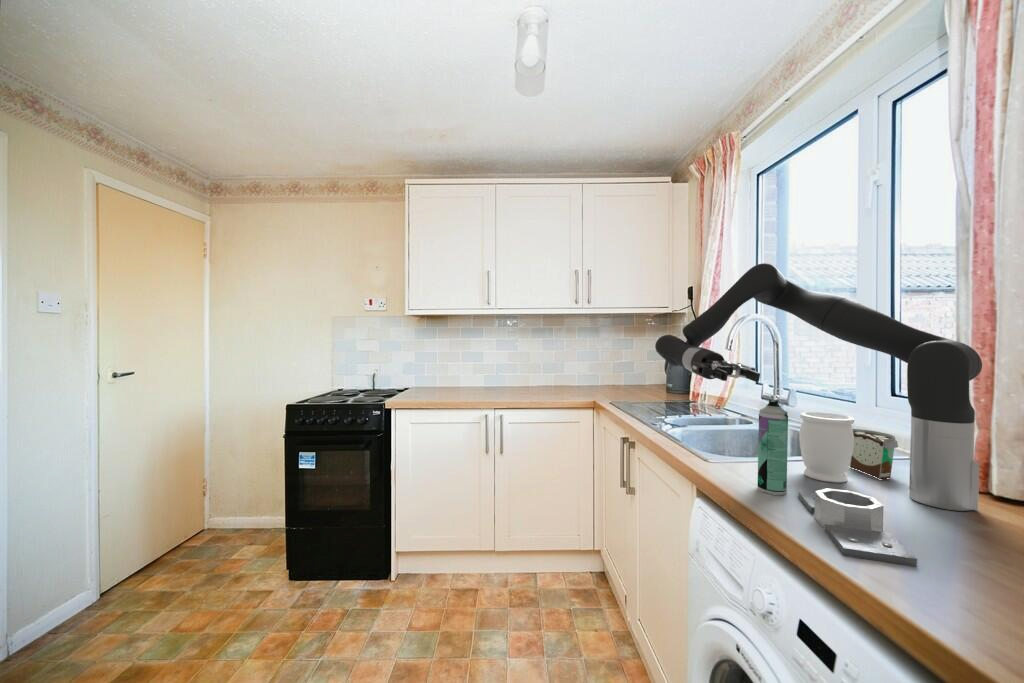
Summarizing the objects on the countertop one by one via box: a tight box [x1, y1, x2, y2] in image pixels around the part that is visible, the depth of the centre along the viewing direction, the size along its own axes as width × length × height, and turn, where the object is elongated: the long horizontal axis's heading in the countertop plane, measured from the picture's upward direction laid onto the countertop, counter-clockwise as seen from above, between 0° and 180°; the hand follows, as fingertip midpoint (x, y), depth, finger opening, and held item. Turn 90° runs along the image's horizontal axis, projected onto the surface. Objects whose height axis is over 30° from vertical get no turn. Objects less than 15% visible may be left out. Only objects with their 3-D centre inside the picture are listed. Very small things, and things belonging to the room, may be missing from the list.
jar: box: [798, 411, 855, 484], centre depth 104 cm, size 11×10×15 cm
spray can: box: [757, 399, 789, 496], centre depth 95 cm, size 6×6×20 cm
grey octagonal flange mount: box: [797, 487, 918, 568], centre depth 78 cm, size 9×26×5 cm, turn 160°
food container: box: [849, 428, 899, 479], centre depth 107 cm, size 12×6×10 cm, turn 179°
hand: (742, 377), depth 103 cm, fingers open, 8 cm apart
